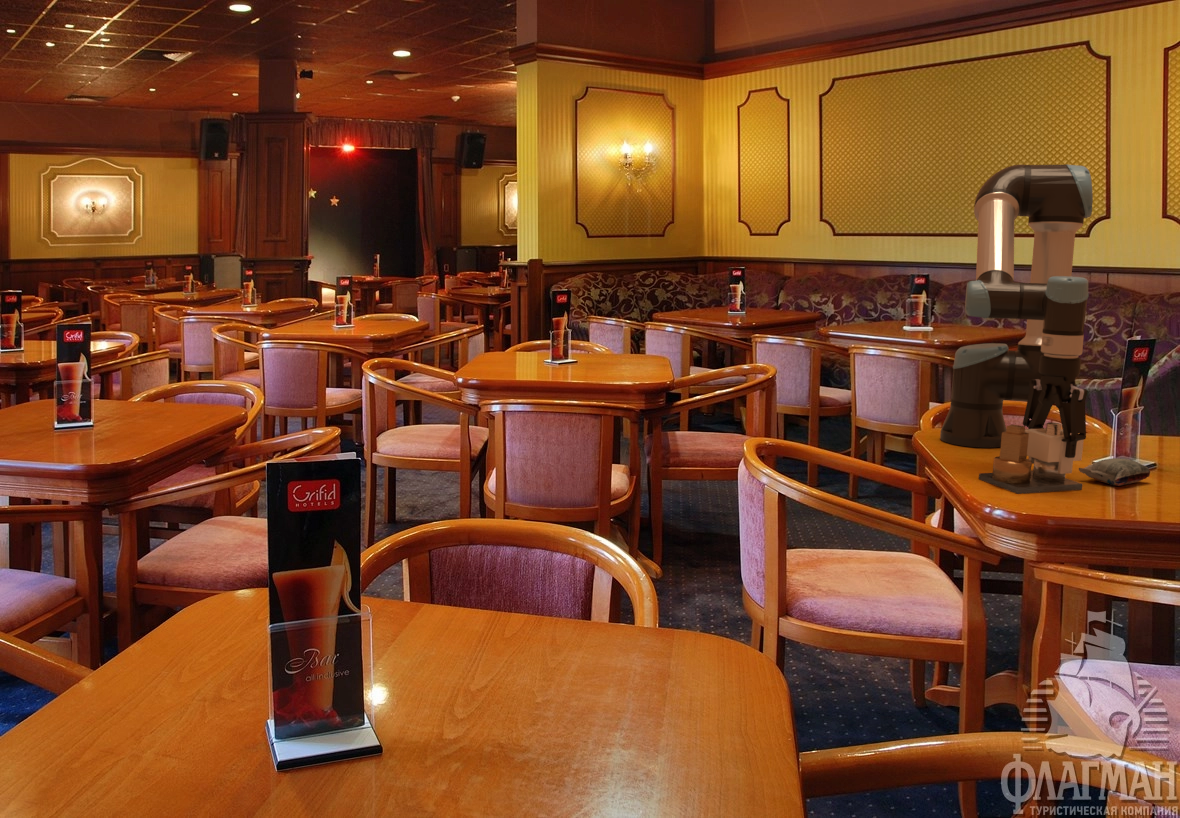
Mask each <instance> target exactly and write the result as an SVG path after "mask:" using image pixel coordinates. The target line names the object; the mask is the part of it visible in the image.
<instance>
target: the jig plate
mask: <svg viewBox="0 0 1180 818" xmlns="http://www.w3.org/2000/svg"><path fill="white" fill-rule="evenodd" d="M992 476H993V472H982V473H981V472H980V473H978V480H979V481H982V482H985V483H988V484H991V485H992V486H993V485H994V486H996V487H999V488H1001V489H1003V488H1004V490H1006V491H1009V492H1012V493H1015V494H1018V495H1019V494H1020V495H1021V494H1022V493H1023V494H1036V493H1049V492H1050V493H1051V492H1069V491H1070V492H1071V491H1082V490H1083V485H1084V484H1083V483H1082V482H1081V483H1080V482H1078V481H1076V480H1073V479H1070V478H1066V477H1065V480H1063V481H1047V480H1041V479H1037V478H1035V477H1033V469H1031V477H1030V482H1029V483H1026V484H1011V483H1004V482H999V481H996V480H994V479H993V478H992ZM1023 494H1022V495H1023Z"/></svg>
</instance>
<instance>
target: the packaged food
mask: <svg viewBox="0 0 1180 818" xmlns="http://www.w3.org/2000/svg"><path fill="white" fill-rule="evenodd" d="M1078 471H1079V472H1080V473H1081V474H1084V475H1086V476H1087V477H1088V478H1090V479H1093V480H1096V481H1099V482H1101V483H1104V484H1108V485H1111V486H1118V487H1120V486H1124V485H1130V484H1133V483H1137V482H1140V481H1143V480H1146V479H1147V478H1148V477H1150V473H1151V470H1150V469H1149V467H1148V466H1146V465H1144V464H1141V463H1139V462H1138V461H1135V460H1132V459H1127V458H1115V457H1114V458H1113V457H1111V458H1105V459H1101V460H1099V461H1096V462H1093V463H1092V464H1088V465H1087V466H1085V467H1079V468H1078Z"/></svg>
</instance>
